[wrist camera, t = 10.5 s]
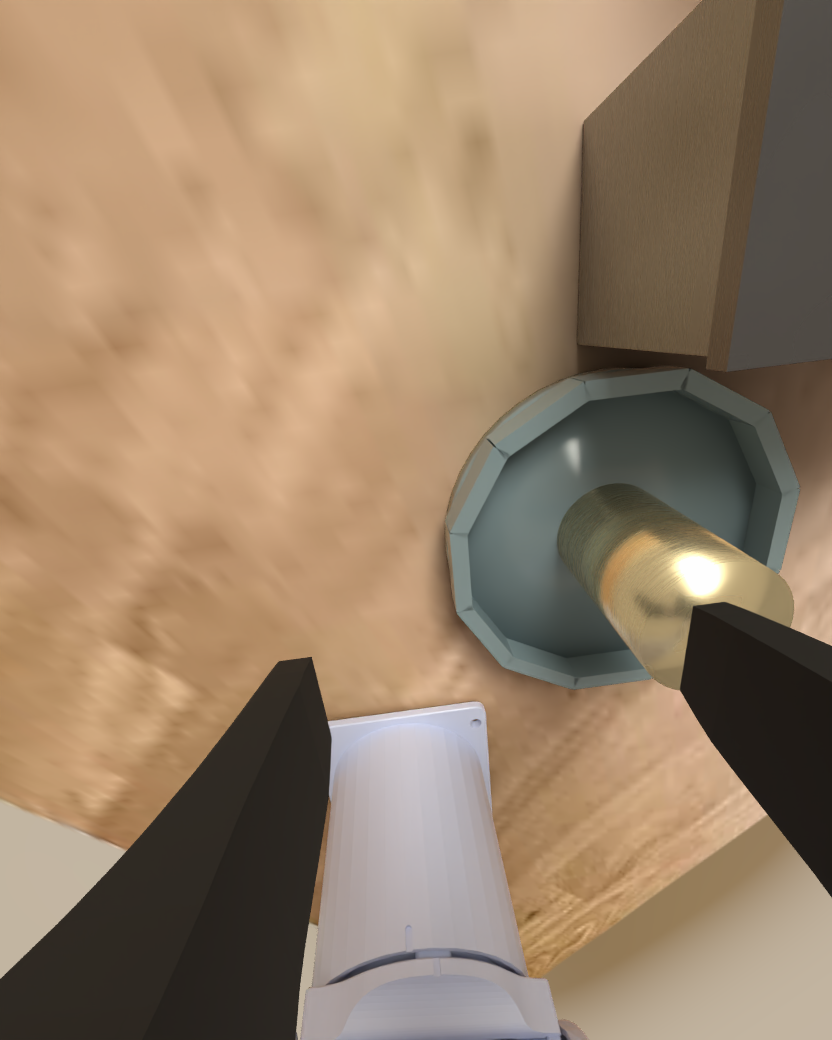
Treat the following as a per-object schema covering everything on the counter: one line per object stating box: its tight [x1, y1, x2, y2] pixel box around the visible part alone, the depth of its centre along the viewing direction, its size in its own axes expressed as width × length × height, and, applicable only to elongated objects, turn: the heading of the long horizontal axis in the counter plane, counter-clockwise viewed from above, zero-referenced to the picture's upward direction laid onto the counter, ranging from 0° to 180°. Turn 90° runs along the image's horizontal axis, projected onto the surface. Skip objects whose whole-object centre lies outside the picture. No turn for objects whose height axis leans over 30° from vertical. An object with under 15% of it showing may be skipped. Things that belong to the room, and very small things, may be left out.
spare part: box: [557, 483, 794, 690], centre depth 14 cm, size 4×4×6 cm
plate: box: [445, 365, 800, 690], centre depth 17 cm, size 12×12×2 cm
